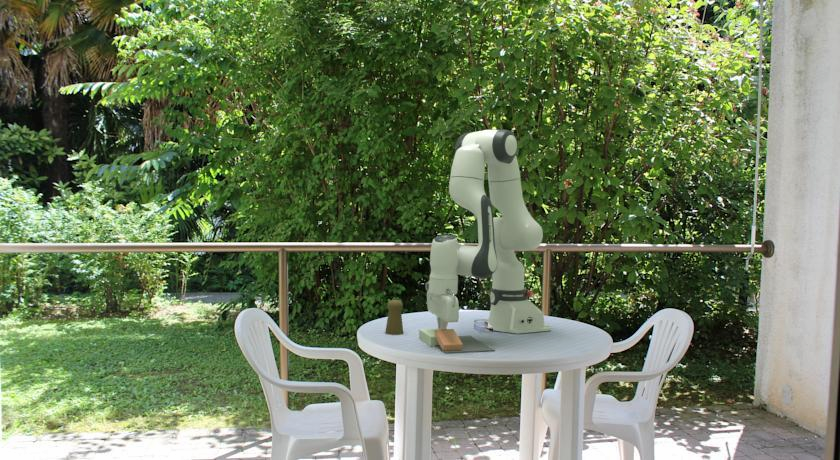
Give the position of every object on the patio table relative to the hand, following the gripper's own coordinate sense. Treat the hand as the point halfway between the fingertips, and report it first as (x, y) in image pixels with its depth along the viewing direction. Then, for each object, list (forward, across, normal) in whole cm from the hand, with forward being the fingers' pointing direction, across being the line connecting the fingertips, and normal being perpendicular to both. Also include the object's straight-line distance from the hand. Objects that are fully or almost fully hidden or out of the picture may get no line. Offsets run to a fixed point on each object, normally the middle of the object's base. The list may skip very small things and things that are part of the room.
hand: (442, 331), depth 224 cm
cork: (+4, +20, +10) cm, 23 cm away
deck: (+4, +4, 0) cm, 6 cm away
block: (+2, -6, 0) cm, 6 cm away
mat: (+4, -1, -5) cm, 7 cm away
